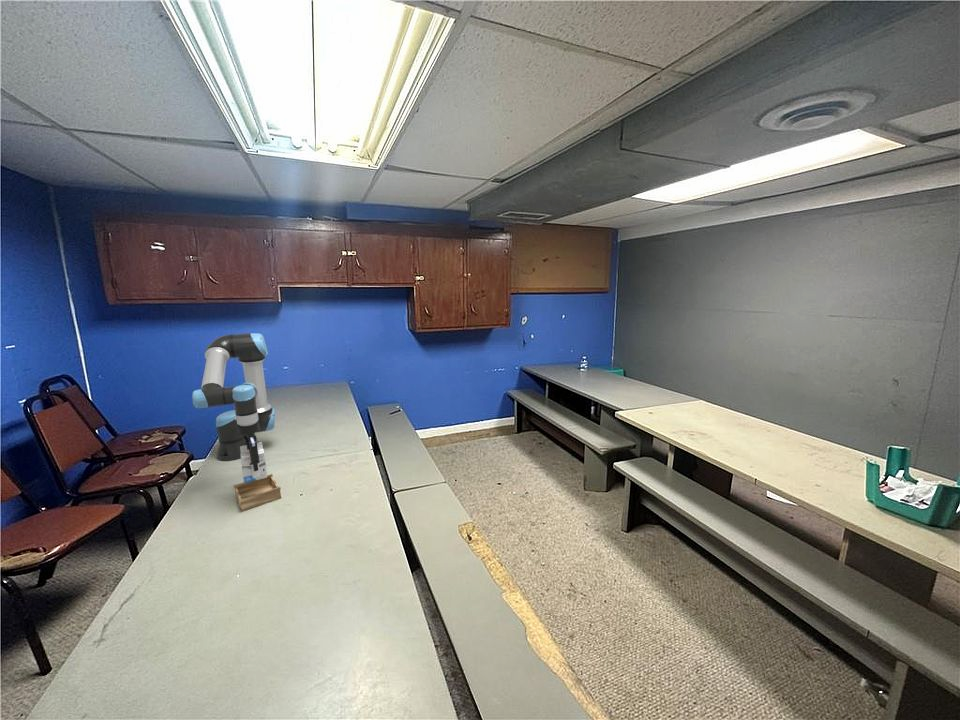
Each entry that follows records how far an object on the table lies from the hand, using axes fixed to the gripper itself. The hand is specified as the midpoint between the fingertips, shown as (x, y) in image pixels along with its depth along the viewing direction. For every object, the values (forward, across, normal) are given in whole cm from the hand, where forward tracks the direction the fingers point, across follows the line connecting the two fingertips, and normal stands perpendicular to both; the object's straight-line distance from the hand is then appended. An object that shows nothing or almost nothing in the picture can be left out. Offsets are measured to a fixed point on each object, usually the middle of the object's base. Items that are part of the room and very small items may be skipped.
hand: (255, 474), depth 155 cm
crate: (+11, 0, 0) cm, 11 cm away
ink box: (+2, 0, 0) cm, 2 cm away
